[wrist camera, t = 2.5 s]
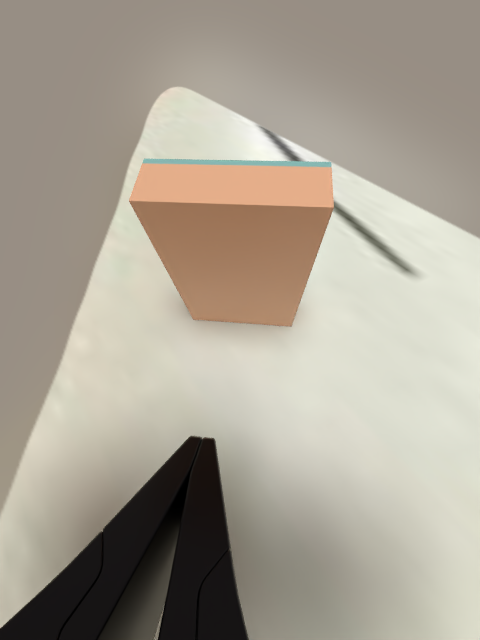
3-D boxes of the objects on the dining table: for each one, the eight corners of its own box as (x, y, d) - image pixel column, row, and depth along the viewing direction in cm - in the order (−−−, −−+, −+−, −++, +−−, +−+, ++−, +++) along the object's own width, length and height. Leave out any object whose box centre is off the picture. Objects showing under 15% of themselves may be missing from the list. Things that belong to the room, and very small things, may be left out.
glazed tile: (291, 326, 21) (333, 207, 10) (193, 319, 21) (128, 200, 10) (291, 298, 22) (331, 162, 11) (198, 293, 22) (144, 158, 11)
